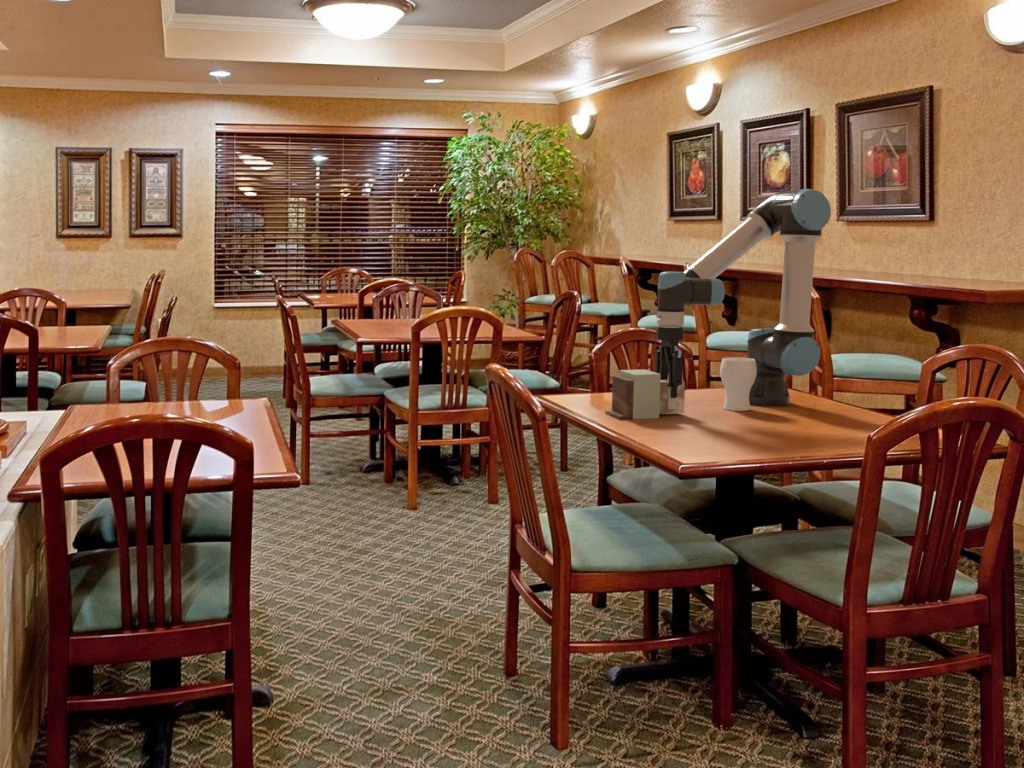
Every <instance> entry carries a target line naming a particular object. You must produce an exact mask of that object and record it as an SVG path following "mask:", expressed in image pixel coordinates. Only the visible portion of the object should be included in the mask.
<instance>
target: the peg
mask: <svg viewBox="0 0 1024 768" xmlns="http://www.w3.org/2000/svg"><path fill="white" fill-rule="evenodd" d="M667 385H669V378H668V379H666V380H660V406H659V415H662V414H682V413H683V414H684V413H685V394H686V392H685V391H686V381H684V380H682V385H679V386H678V388H677V409H667V394H668V386H667Z"/></svg>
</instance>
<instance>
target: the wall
mask: <svg viewBox="0 0 1024 768" xmlns="http://www.w3.org/2000/svg"><path fill="white" fill-rule="evenodd" d="M633 386H634V380H631V379H628V378H625V377H622V376H619V375H613V376H612V388H611V390H612V393H611V396H612V399H611V409H610V410H605V411H604V412H605V413H604V414H605V415H607V416H609V417H611V418H614V419H617V420H619V421H628V420H633V419H632V418H633Z"/></svg>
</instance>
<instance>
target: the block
mask: <svg viewBox="0 0 1024 768" xmlns="http://www.w3.org/2000/svg"><path fill="white" fill-rule="evenodd" d="M618 371H619V373H618V374H619V375H618V376H622V377H625V378H628V379H631V380H634V386H633V418H632V419H631V420H646V419H647V420H648V419H649V420H651V419H660V414H659V406H660V377H661V374H659V373H655V371H651V370H650V369H649V370H648V369H645V368H644V369H619V370H618Z"/></svg>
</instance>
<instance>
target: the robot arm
mask: <svg viewBox="0 0 1024 768" xmlns="http://www.w3.org/2000/svg"><path fill="white" fill-rule="evenodd" d="M831 214H832V208H831V204H830V201H829V199H828V198H827V197H826V196H825V195H824V193H822V192H821V191H819V190H817V189H810V188H800V189H791V190H790V189H785V190H781V191H777V192H776V193H774V194H772V195H770V196H769V197H768V198H766V199H765V200H764V201H762V202H761V203H759V205H757V206H756V207H755V208H754V209H753V210H751V211H750V212H748V214H747V215H746V220H744V221H743V222H742V223H741V224H740V225H738V226H737V227H735V229H734V230H732V231H731V232H730V233H728V235H726V236H725V237H723V239H721V240H720V241H719V242H718V243H716V244H715V245H714V246H713V247H712V248H711V249H710V250H708V251H706V253H705V254H703V256H701V257H699V258H698V260H696V261H695V262H694V263H692V265H690V266H689V267H688V268H687V269H685V270H684V271H662V272H660V273H659V274H658V284H657V314H656V316H655V318H656V320H657V321H656V322H657V323H656V324H657V327H656V340H658V341H660V345H656V346H655V371H654V372H655V373H659V374H661V377H660V380H666V379H669V385H667V386H668V394H667V409H677V388H678V386H679V385H682V381H683V364H684V363H683V361H684V356H685V355H684V354H685V351H684V350H682V349H681V350H680V346H679V342H681V341H683V339H684V331H685V330H684V327H683V326H684V325H685V306H716V305H720V304H721V303H722V302H723V300H724V299H725V296H726V294H725V293H726V292H725V291H726V289H725V285H724V282H723V280H721V279H719V278H718V276H720V275H721V274H722V273H723V272H725V271H726V270H727V269H729V267H731V266H732V265H733V264H735V262H736V261H738V260H739V259H740V258H741V257H743V256H744V255H745V254H746V253H748V251H750V250H751V249H753V248H754V247H755V246H756V245H757V244H758V243H760V242H761V241H763V239H764V240H768V239H769V238H771V237H772V236H774V235H775V234H777V233H779V232H780V233H779V234H780V235H779V236H780V237H781V239H783V240H784V252H783V265H782V266H783V267H782V279H781V281H782V282H781V283H782V284H781V294H780V296H781V297H780V310H779V311H780V312H779V323H777V325H775V327H773V328H771V327H770V328H769V327H768V328H753V329H751V330H750V331H749V332H748V335H747V341H746V342H747V352H746V353H747V355H746V358H751V359H755V361H756V366H757V375H756V378H755V381H754V383H753V385H752V387H751V389H750V394H749V403H750V405H753V406H755V405H756V406H762V407H763V406H765V407H767V406H769V407H775V406H776V407H777V406H786V405H789V404H790V401H791V400H790V399H791V396H790V392H789V387H788V385H787V381H786V375H788V376H794V377H795V376H797V377H801V376H805V375H808V374H809V373H811V372H812V371H813V370H814V369H815V368H816V367H817V365H819V364H818V363H819V361H820V359H821V347H820V345H819V344H818V343H817V341H816V340H815V329H814V328H813V327H812V326H811V324H810V323H811V321H810V320H811V310H812V309H811V307H812V295H813V280H814V267H815V266H814V265H815V255H816V254H815V252H816V242H818V240H820V239H821V238H822V233H823V232H822V230H823V228H824V227H826V225H827V224H828V223H829V221H830V219H831Z"/></svg>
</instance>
